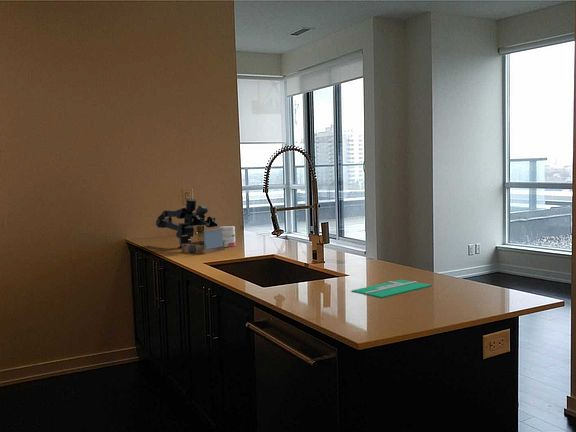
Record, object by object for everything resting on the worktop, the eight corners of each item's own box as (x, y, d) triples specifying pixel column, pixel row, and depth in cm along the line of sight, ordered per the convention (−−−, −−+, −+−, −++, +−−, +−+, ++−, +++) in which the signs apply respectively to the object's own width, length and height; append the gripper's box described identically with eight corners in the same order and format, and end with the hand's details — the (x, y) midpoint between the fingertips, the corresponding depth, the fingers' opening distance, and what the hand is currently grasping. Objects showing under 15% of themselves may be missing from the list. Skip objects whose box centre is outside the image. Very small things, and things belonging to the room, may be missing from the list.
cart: (179, 252, 331) (179, 244, 331) (202, 247, 346) (202, 240, 346) (203, 254, 321) (202, 246, 320) (226, 249, 336) (225, 241, 335)
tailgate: (204, 249, 323) (203, 230, 322) (221, 246, 334) (220, 228, 334) (206, 249, 322) (205, 231, 322) (223, 246, 334) (222, 228, 333)
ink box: (235, 245, 351) (235, 225, 350) (234, 246, 346) (233, 226, 345) (221, 245, 352) (220, 226, 351) (219, 247, 347) (218, 227, 346)
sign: (400, 278, 231) (431, 284, 219) (400, 281, 231) (431, 287, 219) (351, 289, 215) (381, 295, 203) (351, 292, 215) (381, 299, 203)
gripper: (184, 202, 335) (203, 209, 326) (208, 206, 350) (226, 212, 341) (180, 221, 336) (198, 228, 326) (203, 224, 351) (221, 231, 341)
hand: (211, 224), depth 334 cm, fingers open, 9 cm apart
